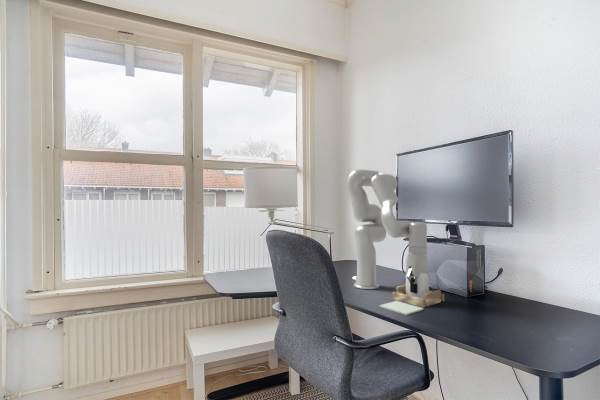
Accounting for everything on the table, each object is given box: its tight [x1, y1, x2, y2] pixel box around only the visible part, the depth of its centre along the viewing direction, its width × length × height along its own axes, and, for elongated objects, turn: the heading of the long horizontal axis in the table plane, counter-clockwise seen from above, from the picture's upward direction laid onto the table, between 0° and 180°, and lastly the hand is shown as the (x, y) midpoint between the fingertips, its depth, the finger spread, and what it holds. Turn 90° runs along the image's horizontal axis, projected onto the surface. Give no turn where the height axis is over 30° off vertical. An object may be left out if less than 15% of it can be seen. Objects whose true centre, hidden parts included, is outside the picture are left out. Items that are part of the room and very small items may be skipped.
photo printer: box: [405, 272, 430, 299], centre depth 147 cm, size 10×4×12 cm, turn 39°
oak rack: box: [392, 284, 445, 309], centre depth 147 cm, size 15×15×5 cm
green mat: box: [378, 300, 424, 316], centre depth 135 cm, size 13×11×1 cm
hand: (417, 291), depth 147 cm, fingers closed on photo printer, 4 cm apart
